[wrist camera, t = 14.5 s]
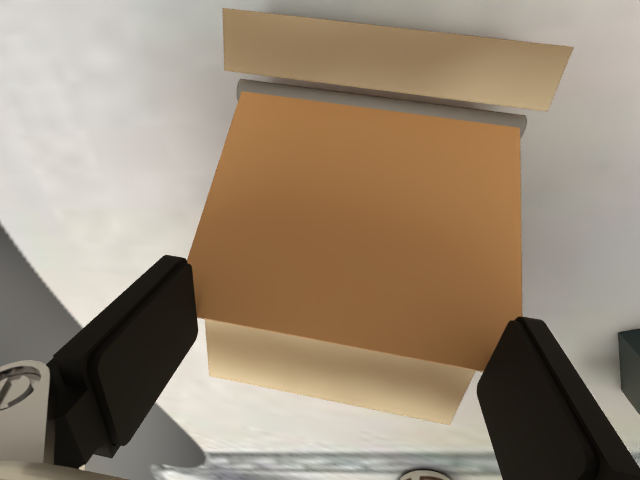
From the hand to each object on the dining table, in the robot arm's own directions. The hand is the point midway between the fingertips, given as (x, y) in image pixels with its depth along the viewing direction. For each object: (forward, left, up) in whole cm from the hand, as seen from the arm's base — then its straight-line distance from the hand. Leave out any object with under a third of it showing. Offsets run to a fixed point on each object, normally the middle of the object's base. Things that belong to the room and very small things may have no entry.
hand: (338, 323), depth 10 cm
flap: (+2, 0, -4) cm, 5 cm away
